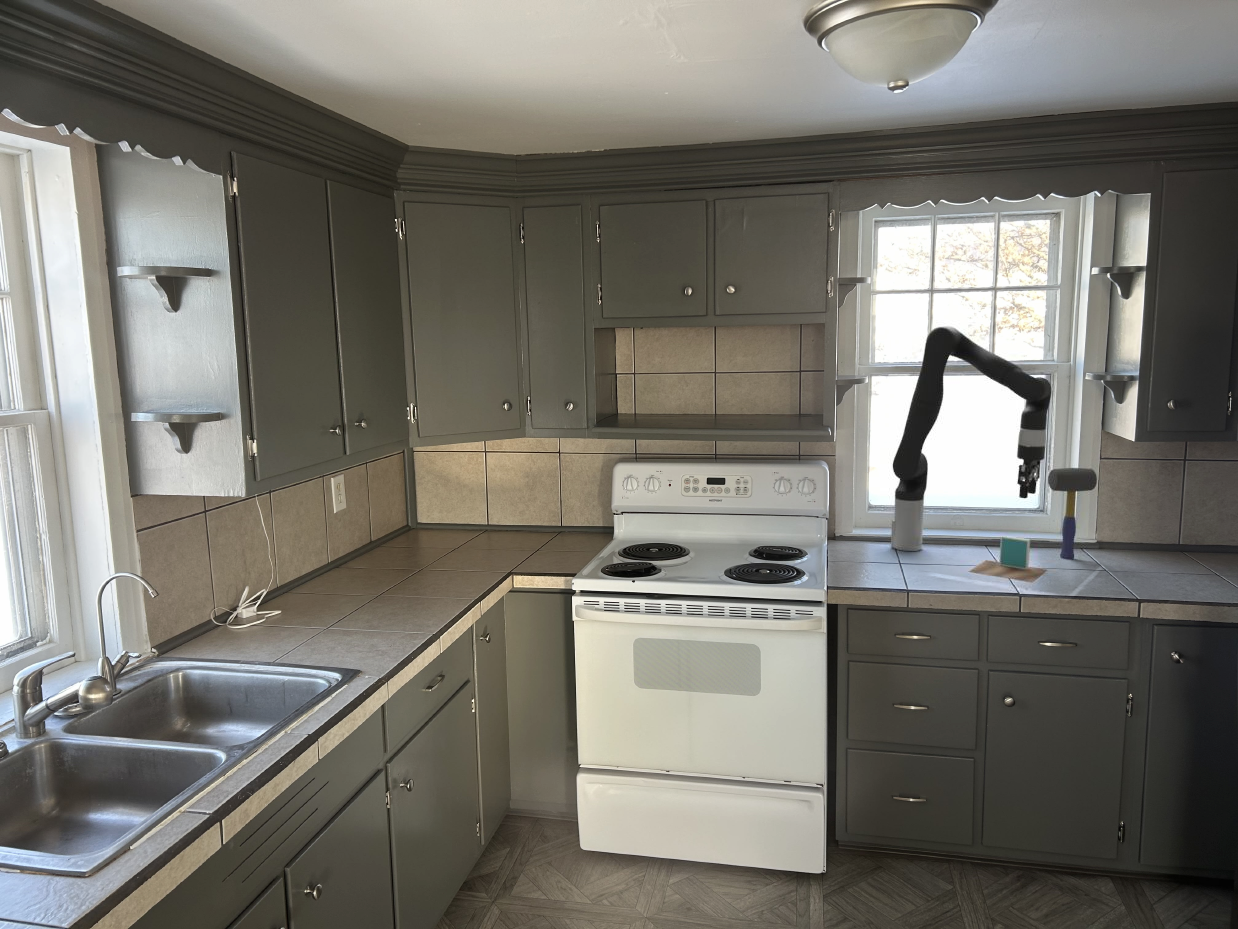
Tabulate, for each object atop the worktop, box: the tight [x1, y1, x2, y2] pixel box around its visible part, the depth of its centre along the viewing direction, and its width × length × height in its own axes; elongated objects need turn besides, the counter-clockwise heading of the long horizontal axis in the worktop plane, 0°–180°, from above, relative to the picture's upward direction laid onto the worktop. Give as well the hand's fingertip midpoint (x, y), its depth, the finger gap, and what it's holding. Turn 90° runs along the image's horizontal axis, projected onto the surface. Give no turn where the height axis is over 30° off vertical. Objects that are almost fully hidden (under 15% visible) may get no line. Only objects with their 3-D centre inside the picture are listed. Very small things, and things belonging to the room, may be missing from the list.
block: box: [998, 535, 1031, 569], centre depth 260 cm, size 8×2×9 cm, turn 49°
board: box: [968, 559, 1048, 583], centre depth 257 cm, size 18×16×1 cm
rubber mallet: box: [1047, 467, 1098, 560], centre depth 268 cm, size 12×8×30 cm, turn 88°
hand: (1027, 495), depth 262 cm, fingers open, 8 cm apart
